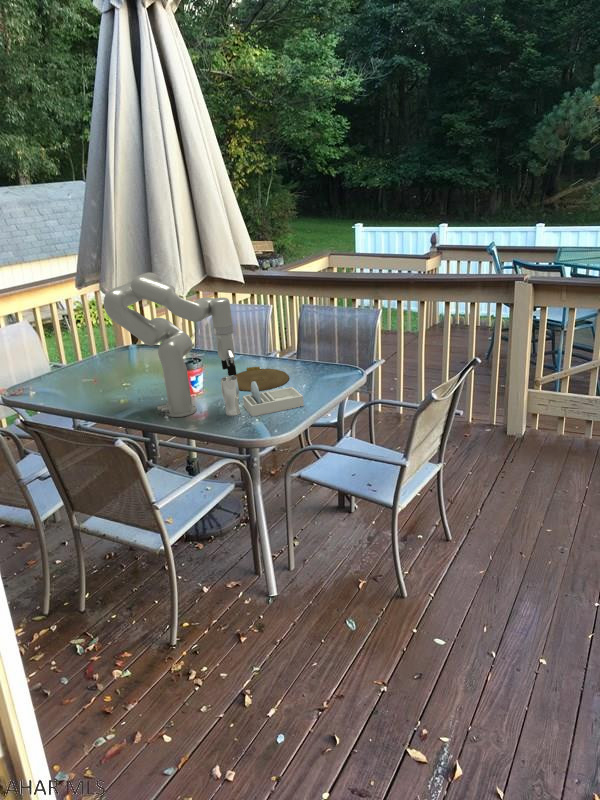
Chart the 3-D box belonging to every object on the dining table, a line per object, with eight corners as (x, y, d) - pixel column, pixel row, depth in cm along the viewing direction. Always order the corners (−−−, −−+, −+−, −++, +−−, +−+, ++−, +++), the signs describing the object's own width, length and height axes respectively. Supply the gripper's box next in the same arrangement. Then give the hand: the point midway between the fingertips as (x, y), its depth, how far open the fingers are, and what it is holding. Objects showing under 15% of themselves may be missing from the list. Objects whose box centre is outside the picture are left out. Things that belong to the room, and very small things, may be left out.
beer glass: (222, 416, 251) (218, 381, 246) (226, 410, 257) (222, 376, 252) (239, 416, 250) (235, 381, 245) (243, 410, 256) (239, 375, 251)
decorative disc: (237, 392, 273) (220, 371, 299) (238, 399, 274) (220, 378, 300) (298, 380, 282) (276, 361, 308) (298, 387, 283) (276, 367, 309)
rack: (252, 416, 249) (249, 388, 245) (243, 406, 260) (240, 379, 256) (303, 406, 255) (301, 378, 251) (293, 396, 267) (291, 370, 263)
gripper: (209, 327, 248) (215, 368, 254) (219, 336, 233) (225, 379, 239) (227, 324, 250) (233, 365, 256) (238, 332, 235) (244, 375, 241)
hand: (229, 372), depth 247 cm, fingers open, 9 cm apart
